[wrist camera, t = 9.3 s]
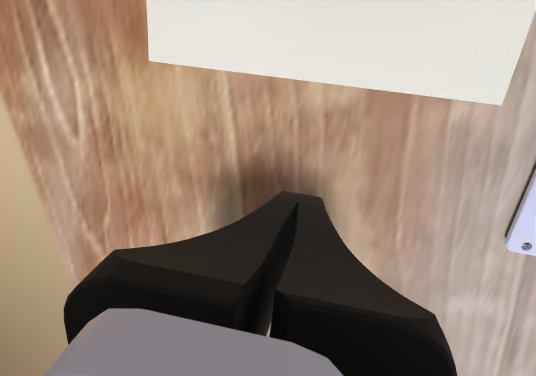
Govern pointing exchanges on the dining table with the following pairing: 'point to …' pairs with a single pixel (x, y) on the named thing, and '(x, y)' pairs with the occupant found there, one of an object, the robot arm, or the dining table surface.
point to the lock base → (351, 42)
